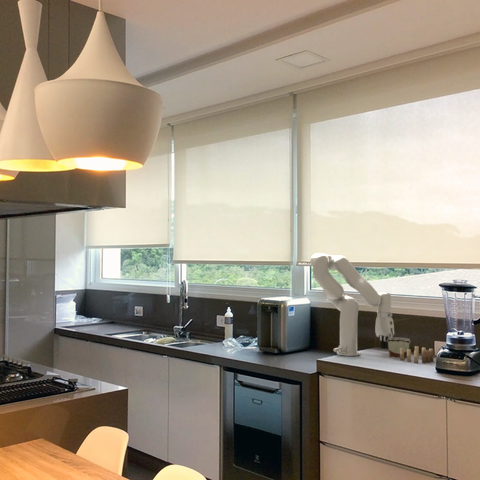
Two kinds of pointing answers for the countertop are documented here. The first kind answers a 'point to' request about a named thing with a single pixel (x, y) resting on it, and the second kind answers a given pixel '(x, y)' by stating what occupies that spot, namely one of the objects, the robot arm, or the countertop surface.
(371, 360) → the countertop surface
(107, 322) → the countertop surface
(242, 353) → the countertop surface
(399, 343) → the food container
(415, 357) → the peg bay
